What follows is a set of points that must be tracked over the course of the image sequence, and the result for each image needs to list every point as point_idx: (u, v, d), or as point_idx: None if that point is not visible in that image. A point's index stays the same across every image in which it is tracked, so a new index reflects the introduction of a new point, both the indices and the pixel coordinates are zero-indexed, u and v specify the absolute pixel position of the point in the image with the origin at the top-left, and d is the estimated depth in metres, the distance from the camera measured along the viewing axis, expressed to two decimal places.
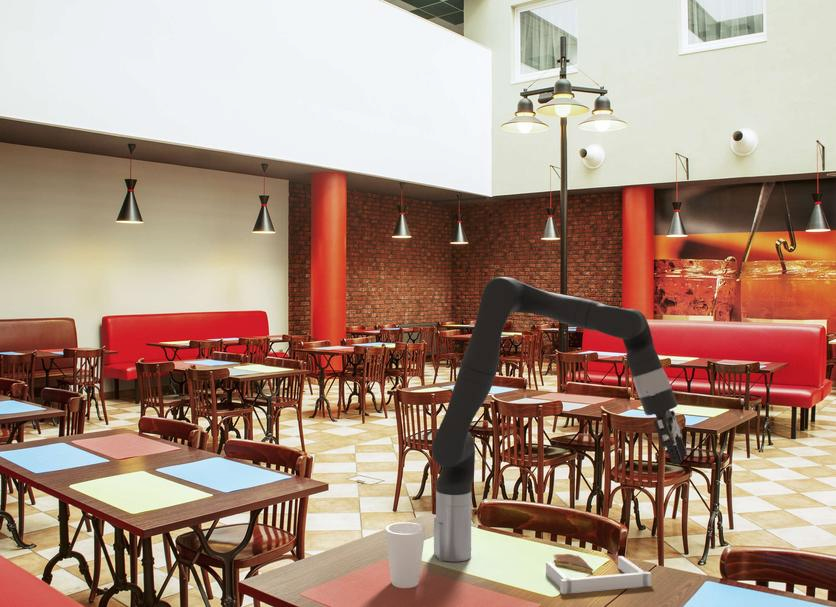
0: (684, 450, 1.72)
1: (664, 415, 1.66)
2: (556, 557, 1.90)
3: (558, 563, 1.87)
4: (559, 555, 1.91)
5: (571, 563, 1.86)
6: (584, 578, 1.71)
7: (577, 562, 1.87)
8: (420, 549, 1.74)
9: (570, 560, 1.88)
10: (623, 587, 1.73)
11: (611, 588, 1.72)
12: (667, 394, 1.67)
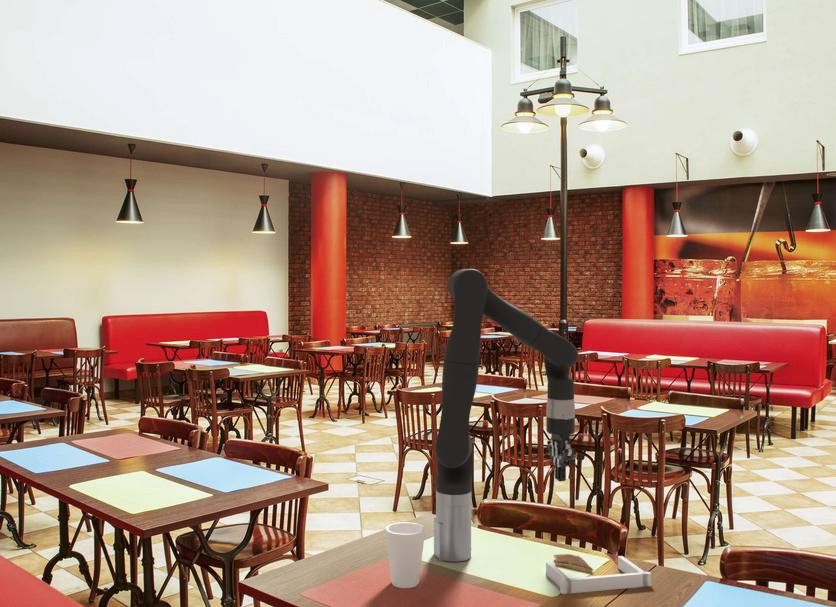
0: None
1: (569, 438, 1.95)
2: (556, 557, 1.90)
3: (558, 563, 1.87)
4: (559, 555, 1.91)
5: (571, 563, 1.86)
6: (584, 578, 1.71)
7: (577, 562, 1.87)
8: (420, 549, 1.74)
9: (570, 560, 1.88)
10: (623, 587, 1.73)
11: (611, 588, 1.72)
12: (574, 421, 1.97)
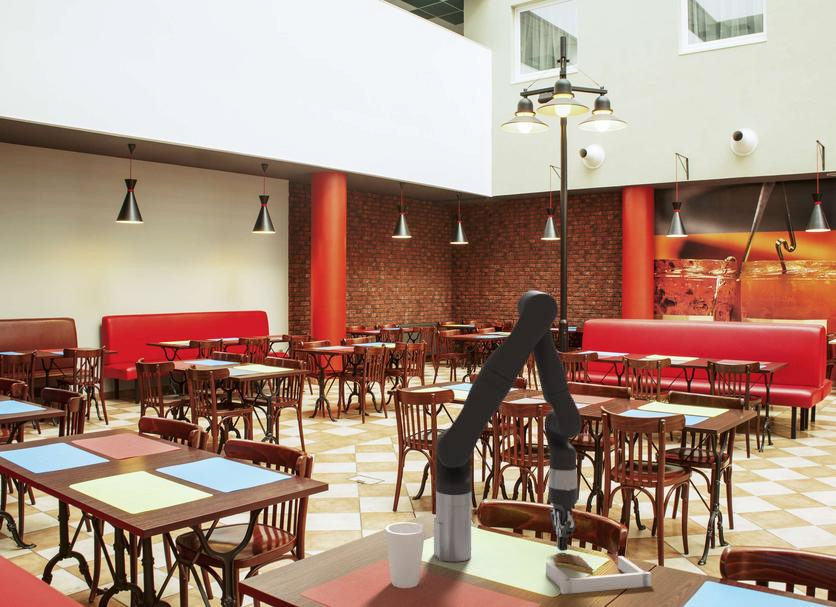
0: None
1: (571, 509, 1.94)
2: (556, 557, 1.90)
3: (558, 563, 1.87)
4: (559, 555, 1.91)
5: (572, 563, 1.86)
6: (584, 578, 1.71)
7: (577, 562, 1.87)
8: (420, 549, 1.74)
9: (570, 560, 1.88)
10: (623, 587, 1.73)
11: (611, 588, 1.72)
12: (576, 491, 1.95)
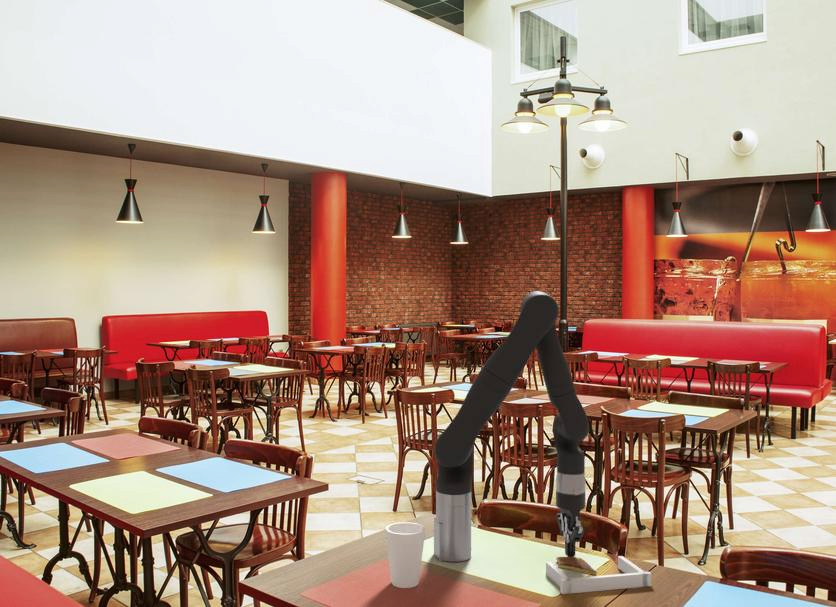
0: None
1: (579, 514, 1.89)
2: (559, 560, 1.89)
3: (561, 566, 1.86)
4: (562, 557, 1.90)
5: (575, 566, 1.85)
6: (584, 578, 1.71)
7: (580, 565, 1.85)
8: (420, 549, 1.74)
9: (573, 563, 1.86)
10: (623, 587, 1.73)
11: (611, 588, 1.72)
12: (584, 496, 1.90)
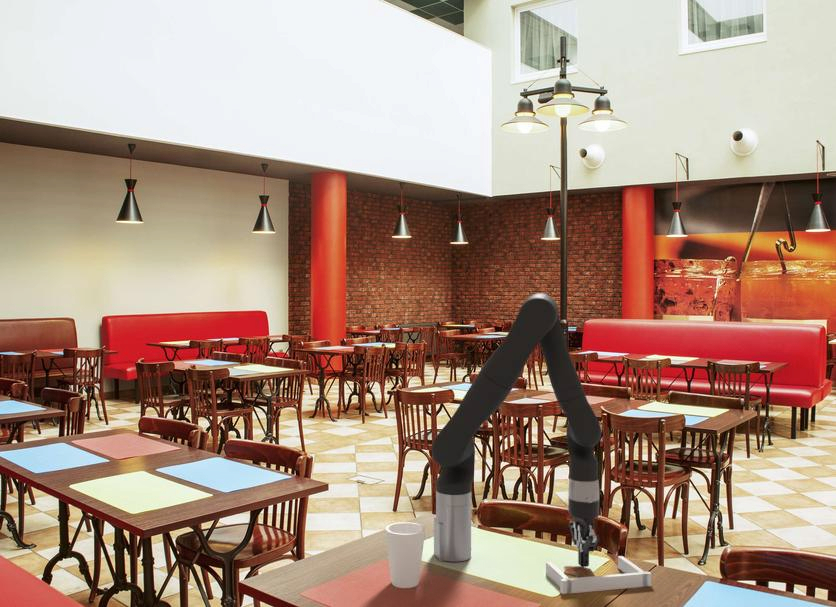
0: None
1: (593, 522, 1.82)
2: (565, 569, 1.82)
3: None
4: (569, 567, 1.83)
5: (579, 576, 1.78)
6: (584, 578, 1.71)
7: (585, 576, 1.78)
8: (420, 549, 1.74)
9: (578, 573, 1.79)
10: (623, 587, 1.73)
11: (611, 588, 1.72)
12: (598, 503, 1.83)
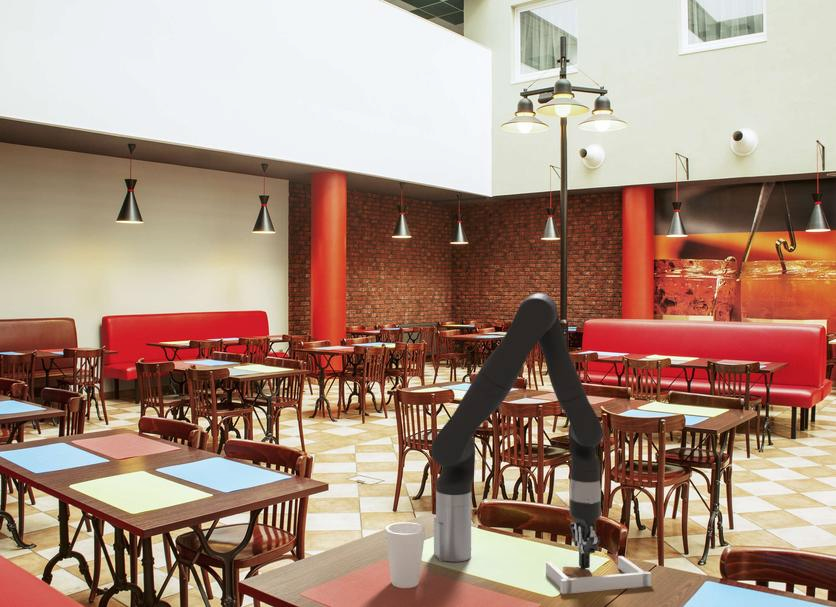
0: None
1: (594, 523, 1.80)
2: (564, 569, 1.82)
3: None
4: (568, 567, 1.83)
5: (576, 577, 1.77)
6: (584, 578, 1.71)
7: None
8: (420, 549, 1.74)
9: (576, 574, 1.79)
10: (623, 587, 1.73)
11: (611, 588, 1.72)
12: (600, 505, 1.81)
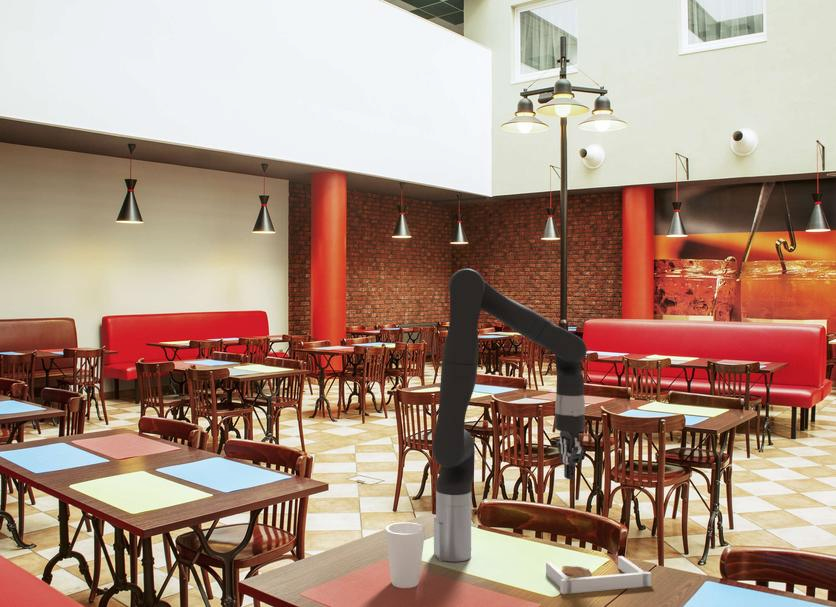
0: None
1: (578, 435, 1.89)
2: (563, 568, 1.82)
3: None
4: (568, 567, 1.83)
5: (575, 576, 1.77)
6: (584, 578, 1.71)
7: (582, 576, 1.78)
8: (420, 549, 1.74)
9: (576, 573, 1.79)
10: (623, 587, 1.73)
11: (611, 588, 1.72)
12: (584, 418, 1.91)
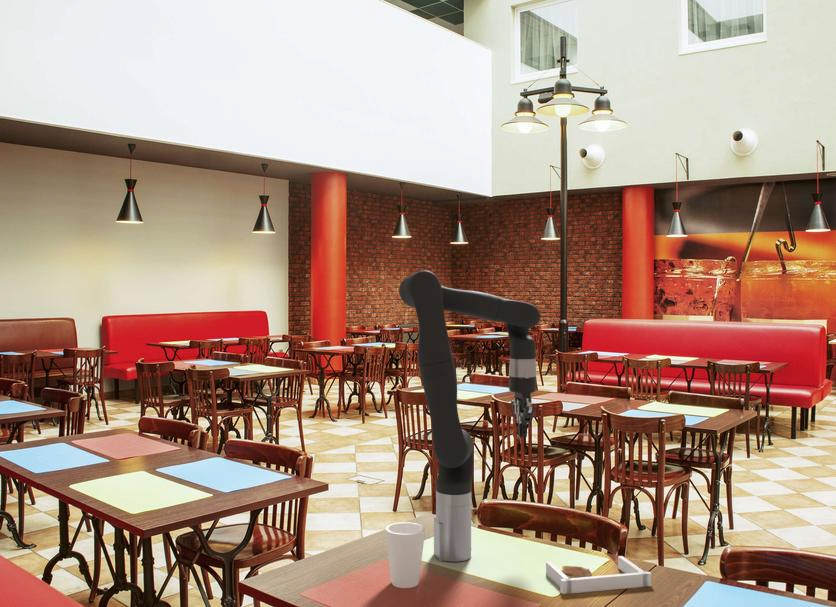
0: None
1: (530, 396, 2.03)
2: (563, 568, 1.82)
3: None
4: (568, 567, 1.83)
5: (575, 576, 1.77)
6: (584, 578, 1.71)
7: (582, 576, 1.78)
8: (420, 549, 1.74)
9: (576, 573, 1.79)
10: (623, 587, 1.73)
11: (611, 588, 1.72)
12: (535, 380, 2.05)
